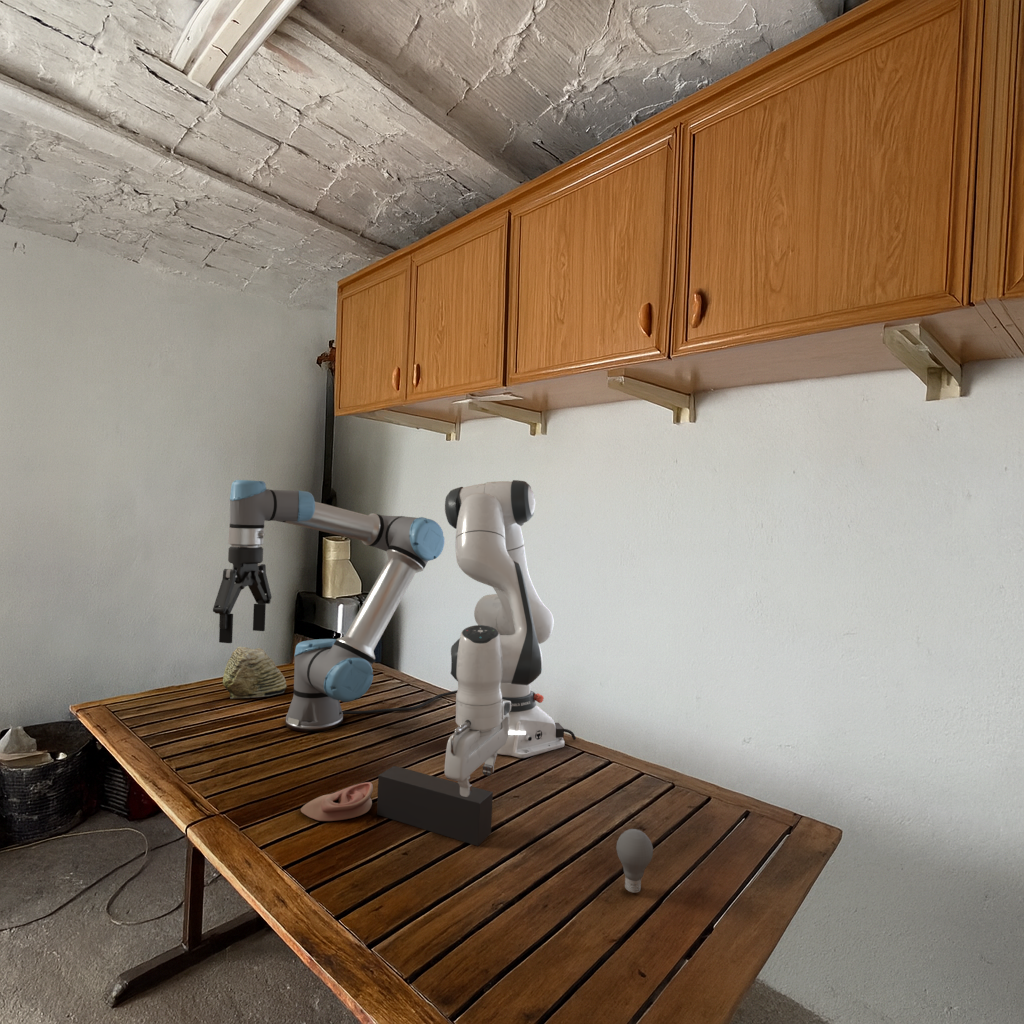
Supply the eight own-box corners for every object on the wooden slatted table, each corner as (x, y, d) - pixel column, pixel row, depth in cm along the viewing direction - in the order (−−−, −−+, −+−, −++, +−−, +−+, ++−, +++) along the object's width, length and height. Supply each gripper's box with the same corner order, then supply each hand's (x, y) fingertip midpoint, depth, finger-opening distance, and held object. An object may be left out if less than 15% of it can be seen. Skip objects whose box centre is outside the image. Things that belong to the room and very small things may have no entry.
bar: (376, 814, 127) (378, 775, 127) (392, 803, 132) (394, 765, 132) (477, 846, 117) (479, 803, 117) (491, 833, 122) (492, 792, 122)
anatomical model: (293, 796, 125) (321, 772, 136) (292, 816, 125) (321, 791, 136) (355, 806, 122) (379, 781, 133) (354, 826, 122) (379, 799, 133)
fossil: (218, 695, 195) (220, 647, 195) (278, 685, 208) (279, 640, 207) (228, 703, 189) (230, 653, 188) (289, 692, 201) (290, 645, 201)
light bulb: (610, 879, 108) (613, 822, 108) (644, 879, 109) (647, 822, 109) (619, 902, 102) (622, 840, 102) (655, 901, 103) (658, 840, 103)
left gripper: (229, 550, 135) (225, 649, 136) (287, 543, 160) (284, 627, 160) (197, 548, 136) (193, 646, 137) (260, 542, 161) (257, 625, 161)
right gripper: (467, 734, 110) (466, 812, 111) (515, 699, 129) (513, 766, 129) (436, 728, 113) (435, 804, 113) (487, 695, 131) (485, 760, 132)
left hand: (242, 636), depth 148 cm, fingers open, 13 cm apart
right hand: (477, 784), depth 121 cm, fingers open, 8 cm apart
